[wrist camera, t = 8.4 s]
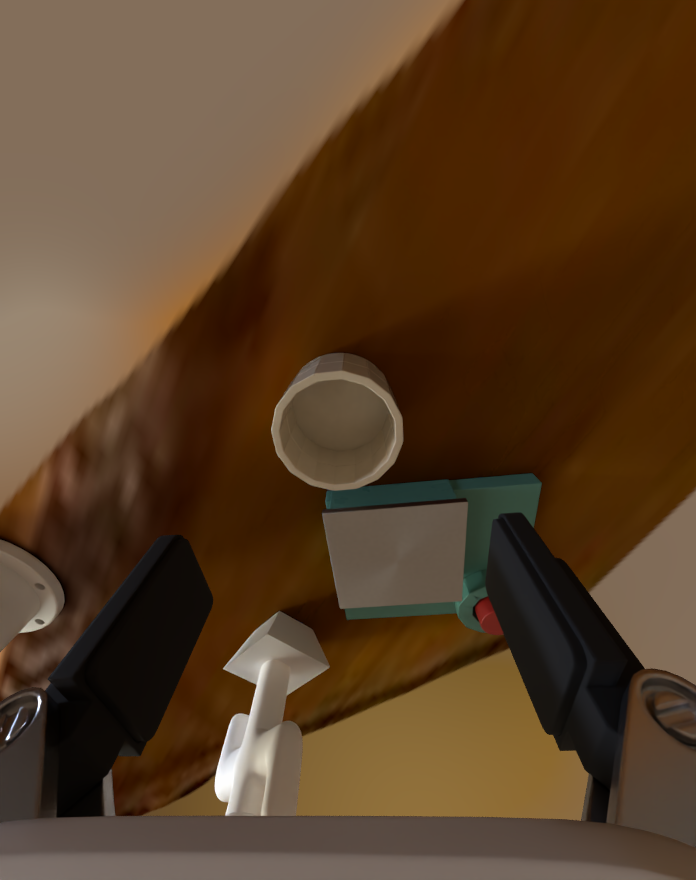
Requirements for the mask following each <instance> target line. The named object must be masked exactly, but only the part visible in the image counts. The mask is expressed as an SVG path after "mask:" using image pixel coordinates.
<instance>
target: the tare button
mask: <svg viewBox="0 0 696 880" xmlns="http://www.w3.org/2000/svg"><path fill="white" fill-rule="evenodd" d="M475 612H476V615H477V617H478V620H479V623H480V625H481V628H482V629H483V630H484V631H485V632H487V633H489V634H492V635H502V634H504V633H503V631H502V629H501V626H500V624H499V621H498V619H497V617H496V614H495V612H494V609H493V607H492V604H491V602H490V600H489V597H488V596H487V597H485V598H482V599H480V600H479V601H478V602H477V603H476V605H475Z"/></svg>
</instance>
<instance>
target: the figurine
mask: <svg viewBox="0 0 696 880" xmlns="http://www.w3.org/2000/svg"><path fill="white" fill-rule="evenodd" d="M328 668H330V666H329V664H328V662H327V659H326V657H325V655H324V653H323V651H322V648H321V646H320V644H319V642H318V640H317V638H316V635H315V633H314V631H313V629H311V628H309V627H307V626H306V625H304V624H302V623H300V622H299V621H297V620H295V619H293V618H291V617H290V616H288V615H286V614H284V613H283V612H281V611H278V612H277V613H276V614H275V615H273V616H272V617H271V618H270V619H269V620H267V621H266V622H265V623H264V624H262V625H261V626H260V627H259V628H257V629H256V630H255V631H254V632H253V633H252V635H251V636H250V637H249V638H248V639H247V640H246V642H245V643H244V644H243V645H242V646H241V648H240V649H239V650H238V651H237V652H236V654H235V655H234V656H233V657H232V658H231V660H230V661H229V662H228V663H227V664H226V666H225V667H224V668H223V669H224V670H226V671H228V672H231V673H233V674H235V675H237V676H239V677H241V678H243V679H246V680H248V681H250V682H252V683H254V684H256V685H257V687H256V691H255V695H254V699H253V703H252V707H251V712H250V716H248V715H246V714H236V715H235V716H234V717H233V718H232V719H231V722H230V725H229V728H228V732H227V735H226V739H225V742H224V746H223V749H222V753H221V756H220V760H219V764H218V768H217V772H216V778H215V792H216V795H217V797H218V798H219V799H220V800H221V801H223V802H229V803H228V807H227V811H226V815H225V816H296V808H297V799H298V790H299V781H300V772H301V762H302V735H301V731H300V729H299V727H298V725H297V724H296V723H294V722H292V721H284V722H282V720H283V714H284V708H285V702H286V696H287V695H288V694H290V693H291V692H293V691H294V690H296V689H297V688H299V687H300V686H302V685H303V684H305V683H307V682H308V681H310V680H311V679H313V678H314V677H316V676H317V675H319V674H320V673H322V672H323V671H325V670H327V669H328Z"/></svg>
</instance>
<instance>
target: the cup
mask: <svg viewBox="0 0 696 880" xmlns="http://www.w3.org/2000/svg"><path fill="white" fill-rule="evenodd" d="M271 430H272V431H271V432H272V436H273V440H274V444H275V449H276V453H277V455H278V456H279V457H280V459H281V460H282V461H283V463H284V464H285V465H286V467H287V468H288V469H289V471H290V472H291V473H292V474H294V475H296V476H297V477H299V478H300V479H302V480H303V481H305V482H306V483H308V484H309V485H312V486H316V487H320V488H324V489H328V490H332V491H333V490H334V491H337V490H348V489H357V488H360V487H362V486H364V485H367V484H369V483H371V482H373V481H375V480H378V479H379V478H380V477H381V476H382V475H383V474H384V473H385V472H386V471H387V470H388V469H389V468H390V467H391V466H392V465H393V464H394V463H395V461H396V459H397V456H398V454H399V451H400V449H401V446H402V444H403V418H402V415H401V412H400V409H399V407H398V404H397V401H396V399H395V396H394V393H393V391H392V389H391V387H390V385H389V383H388V381H387V379H386V377H385V375H384V374H383V373H382V372H381V371H380V370H379V369H378V368H377V367H376V366H375V365H374V364H372V363H371V362H370V361H368V360H366V359H364V358H362V357H360V356H357V355H353V354H349V353H332V354H326V355H323V356H320V357H318V358H316V359H314V360H312V361H311V362H309V363H308V364H306V365H305V366H304V367H303V368H302V369H301V370H300V371H299V373H298V374H297V375H296V377H295V378H294V380H293V381H292V382H291V384H290V385H289V387H288V388H287V390H286V392H285V393H284V395H283V396H282V398H281V400H280V401H279V403H278V404H277V406H276V408H275V413H274V419H273V424H272V429H271Z"/></svg>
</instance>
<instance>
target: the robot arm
mask: <svg viewBox="0 0 696 880" xmlns="http://www.w3.org/2000/svg"><path fill="white" fill-rule="evenodd" d="M485 586H486V591H487V595H488V597H489V600H490V602H491V604H492V607H493V609H494V612H495V614H496V617H497V619H498V621H499V624H500V626H501V629H502V631H503V633H504V636H505V638H506V641H507V643H508V645H509V648H510V650H511V653H512V655H513V658H514V660H515V662H516V665H517V667H518V669H519V672H520V674H521V676H522V679H523V682H524V684H525V686H526V689H527V691H528V694H529V696H530V699H531V701H532V703H533V706H534V708H535V711H536V713H537V715H538V718H539V720H540V723H541V725H542V727H543V729H544V730H545V732H546V733H547V734H549V735H553V736H554V738H555V740H556V743H557V745H558V747H559V750H560V751H569V750H570V751H571V750H576V751H577V754H578V756H579V758H580V760H581V762H582V765H583V766H584V769H585V770H586V771H587V772H588V773H589V777H588V783H587V788H586V795H585V800H584V806H583V812H582V819H581V821H577V820H565V819H534V818H533V819H532V818H501V817H499V818H498V817H422V816H418V817H417V816H115V810H114V796H113V782H112V769H111V768H112V766H113V764H114V762H115V760H116V758H117V756H118V755H119V756H141V753H142V751H143V749H144V747H145V745H146V742H147V741H149V740H150V739H151V738H152V737H153V736H154V735H155V733H156V731H157V729H158V726H159V724H160V722H161V720H162V718H163V715H164V713H165V711H166V709H167V706H168V704H169V702H170V700H171V697H172V695H173V693H174V691H175V689H176V686H177V684H178V682H179V680H180V677H181V675H182V673H183V671H184V668H185V666H186V664H187V662H188V660H189V657H190V655H191V653H192V651H193V648H194V646H195V644H196V642H197V639H198V637H199V635H200V633H201V631H202V628H203V626H204V624H205V622H206V619H207V617H208V615H209V613H210V610H211V608H212V604H213V596H212V594H211V591H210V589H209V587H208V584H207V582H206V580H205V578H204V575H203V573H202V571H201V568H200V566H199V564H198V562H197V559H196V557H195V555H194V553H193V550H192V548H191V546H190V543H189V541H188V540H187V539H184V538H183V536H181V535H167V536H160V537H159V538H158V539H157V540H156V541H155V542H154V543H153V545H152V546H151V547H150V549H149V550H148V551H147V552H146V554H145V555H144V556H143V557H142V559H141V560H140V561H139V563H138V564H137V565H136V566H135V568H134V569H133V570H132V572H131V573H130V574H129V575H128V577H127V578H126V579H125V580H124V582H123V583H122V584H121V586H120V587H119V588H118V589H117V591H116V592H115V593H114V595H113V596H112V597H111V598H110V600H109V601H108V602H107V604H106V605H105V606H104V607H103V609H102V610H101V611H100V612H99V614H98V615H97V616H96V618H95V619H94V620H93V621H92V623H91V624H90V625H89V627H88V628H87V629H86V630H85V632H84V633H83V634H82V636H81V637H80V638H79V639H78V641H77V642H76V643H75V644H74V646H73V647H72V648H71V650H70V651H69V652H68V653H67V655H66V656H65V657H64V659H63V660H62V661H61V662H60V664H59V665H58V666H57V668H56V669H55V670H54V671H53V673H52V674H51V675H50V676H49V678H48V680H49V681H50V682H51V684H50V685H49V686H48V688H47V689H46V690H45V691H44V690H43V689H42V688H37V687H31V688H28V689H24V690H21V691H19V692H17V693H15V694H13V695H11V696H9V697H7V698H6V699H4V700H3V701H1V702H0V880H696V685H694V684H692V683H691V682H689V681H687V680H686V679H684V678H682V677H680V676H678V675H675V674H672V673H670V672H667V671H663V670H658V669H645V668H644V667H643V666H642V664H641V663H640V662H639V660H638V659H637V658H636V656H635V655H634V653H633V652H632V651H631V649H630V648H629V647H628V645H627V644H626V643H625V641H624V640H623V639H622V637H621V636H620V635H619V633H618V632H617V631H616V629H615V628H614V626H613V625H612V624H611V622H610V621H609V620H608V619H607V617H606V616H605V614H604V613H603V612H602V610H601V609H600V608H599V606H598V605H597V604H596V602H595V601H594V600H593V598H592V597H591V595H590V594H589V593H588V591H587V590H586V589H585V587H584V586H583V585H582V583H581V582H580V581H579V579H578V578H577V577H576V575H575V574H574V573H573V571H572V570H571V569H570V567H569V566H568V565H567V564H566V563H565V561H563V560H562V559H560V558H554V556H553V555H552V553H551V552H550V550H549V549H548V548H547V546H546V545H545V543H544V542H543V541H542V539H541V538H540V536H539V535H538V534H537V532H536V531H535V529H534V528H533V527H532V525H531V524H530V522H529V521H528V520H527V518H526V517H525V516H524V514H523V513H521V512H516V513H501V514H499V516H498V519H493V522H492V529H491V537H490V546H489V554H488V563H487V571H486V580H485ZM64 602H65V600H64V592H63V589H62V587H61V584H60V582H59V581H58V579H57V578H56V576H55V575H54V574H53V573H52V572H51V571H50V570H49V568H48V567H47V566H46V565H44V564H43V563H42V562H41V561H40V560H38V559H37V558H36V557H34V556H33V555H31V554H30V553H28V552H26V551H25V550H23V549H21V548H19V547H17V546H15V545H13V544H11V543H9V542H6V541H4V540H1V539H0V652H1V651H2V650H3V649H4V648H5V646H6V645H7V644H8V643H9V642H10V641H11V640H12V639H13V638H14V637H15V636H16V635H17V634H18V633H23V632H30V631H35V630H38V629H41V628H44V627H45V626H47V625H49V624H50V623H51V622H52V621H53V620H54V619H55V618H56V617H57V616H58V615H59V613H60V612H61V610H62V609H63V606H64Z"/></svg>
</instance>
